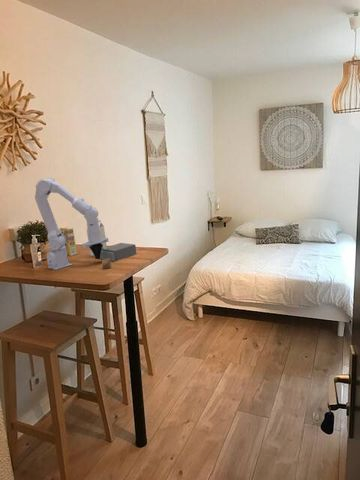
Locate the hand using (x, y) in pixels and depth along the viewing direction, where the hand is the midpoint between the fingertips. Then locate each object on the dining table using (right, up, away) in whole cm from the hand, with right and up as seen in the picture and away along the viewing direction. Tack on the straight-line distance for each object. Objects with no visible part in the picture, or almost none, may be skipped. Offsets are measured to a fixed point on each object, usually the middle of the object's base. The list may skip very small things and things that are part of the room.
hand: (97, 258), depth 193 cm
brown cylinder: (+7, -4, -10) cm, 13 cm away
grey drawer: (+8, +1, +9) cm, 12 cm away
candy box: (-21, +1, +26) cm, 33 cm away
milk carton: (-3, +1, +19) cm, 19 cm away
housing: (+9, +1, +10) cm, 13 cm away
